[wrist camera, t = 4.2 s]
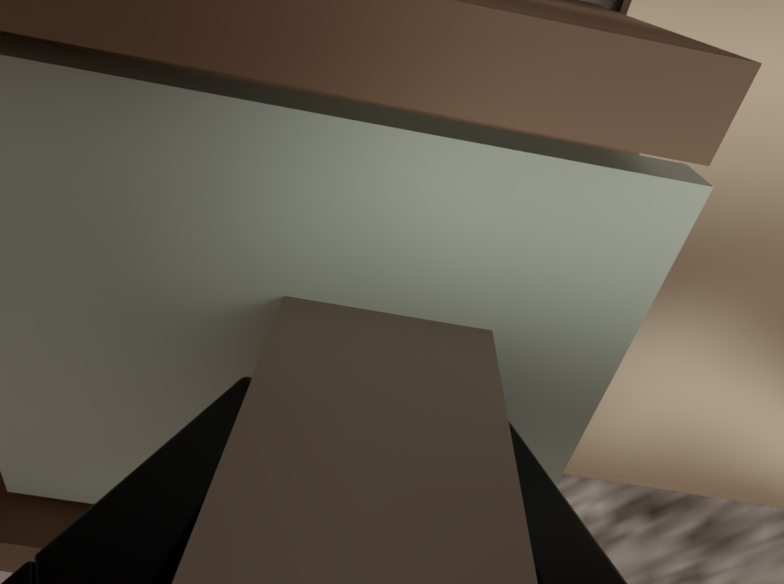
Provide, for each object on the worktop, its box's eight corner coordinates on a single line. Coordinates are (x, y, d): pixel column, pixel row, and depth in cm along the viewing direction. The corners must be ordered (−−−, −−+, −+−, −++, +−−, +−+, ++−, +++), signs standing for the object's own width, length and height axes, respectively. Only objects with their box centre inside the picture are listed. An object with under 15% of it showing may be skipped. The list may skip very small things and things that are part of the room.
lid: (508, 528, 12) (562, 895, 7) (32, 458, 11) (-230, 805, 7) (687, 163, 7) (1121, 529, 3) (-96, 17, 7) (-1163, 169, 2)
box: (453, 422, 16) (467, 635, 11) (34, 354, 15) (-150, 550, 10) (594, 3, 10) (761, 63, 5) (-86, -137, 9) (-654, -226, 4)
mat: (833, 506, 17) (842, 517, 17) (461, 447, 16) (462, 457, 16) (1266, 77, 10) (1294, 82, 10) (643, -55, 9) (651, -55, 9)
